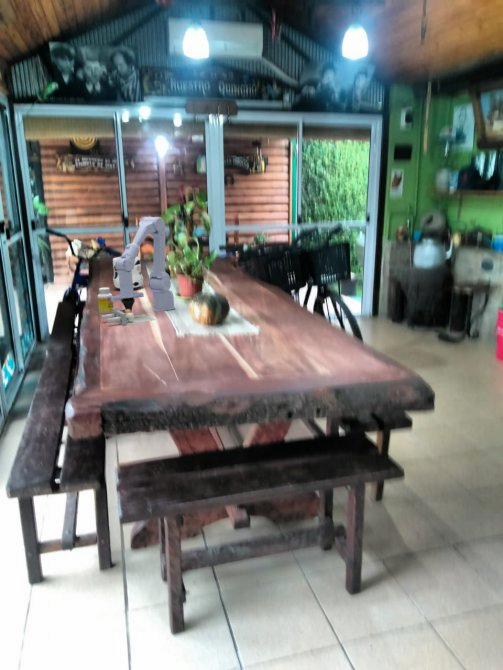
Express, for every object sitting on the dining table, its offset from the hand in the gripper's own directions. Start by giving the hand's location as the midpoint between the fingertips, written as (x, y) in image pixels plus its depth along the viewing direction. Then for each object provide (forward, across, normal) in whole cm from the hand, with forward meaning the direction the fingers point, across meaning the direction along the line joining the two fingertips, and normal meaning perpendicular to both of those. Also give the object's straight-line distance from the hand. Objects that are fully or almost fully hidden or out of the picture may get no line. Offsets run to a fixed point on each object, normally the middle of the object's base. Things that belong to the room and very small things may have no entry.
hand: (129, 314), depth 236 cm
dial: (+2, -2, -4) cm, 4 cm away
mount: (+2, +1, -4) cm, 4 cm away
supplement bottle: (+2, -6, +14) cm, 16 cm away
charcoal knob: (+1, -7, 0) cm, 7 cm away
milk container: (+2, +26, +70) cm, 75 cm away
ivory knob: (+1, -7, -7) cm, 10 cm away
